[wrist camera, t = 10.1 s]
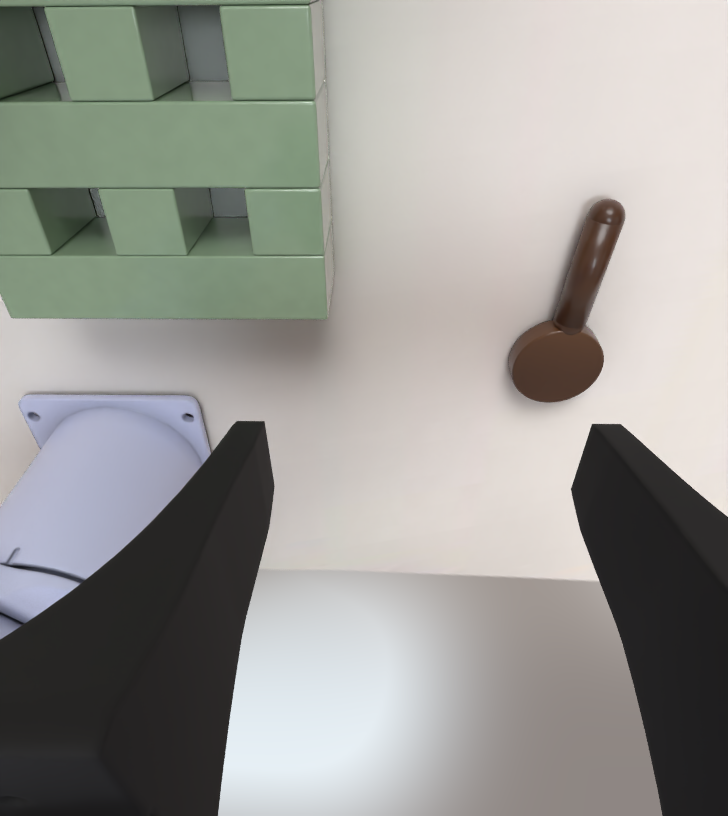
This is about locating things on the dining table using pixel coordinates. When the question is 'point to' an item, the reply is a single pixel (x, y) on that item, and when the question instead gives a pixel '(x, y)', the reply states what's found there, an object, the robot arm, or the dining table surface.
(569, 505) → the dining table surface
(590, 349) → the walnut spoon
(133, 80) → the utensil stand
